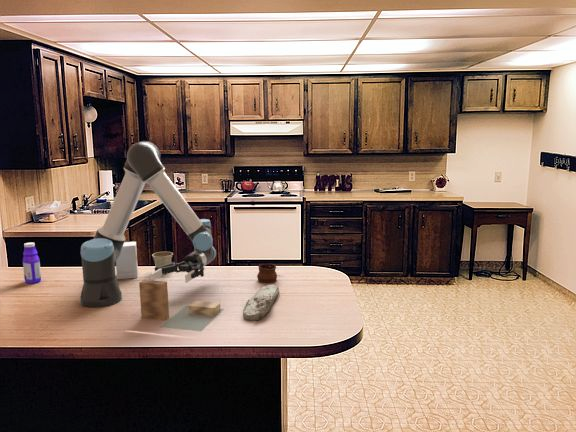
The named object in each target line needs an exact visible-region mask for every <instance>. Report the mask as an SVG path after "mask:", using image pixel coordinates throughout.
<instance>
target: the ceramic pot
mask: <svg viewBox="0 0 576 432" xmlns="http://www.w3.org/2000/svg"><path fill="white" fill-rule="evenodd" d="M257 268H258V273H257V274H256V278H257V281H258V282H260V283H262V284H273V283H276V282H277V278H278V276H279V277H284V275H279V274H277V272H276V269H277V265H276V264H273V263H267V264H265V263H260V264H259V265H258V267H257Z"/></svg>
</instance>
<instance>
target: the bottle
mask: <svg viewBox="0 0 576 432" xmlns="http://www.w3.org/2000/svg"><path fill="white" fill-rule="evenodd" d="M35 245H36V244H35V242H26V243H25V242H24V244H23V246H24V248H23V249H24V250H23V253H22V255H23V258H22V266H23V267H22V269H23V278H24V281H25V283H28V284H37V283H40V282H41V281H42V274H41V273H42V272H41V262H40V257H39V256H38V253H39V252H38V251H37V248H36V246H35Z"/></svg>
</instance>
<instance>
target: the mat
mask: <svg viewBox="0 0 576 432" xmlns="http://www.w3.org/2000/svg"><path fill="white" fill-rule="evenodd" d="M223 311H224V308H221V311H220V312H219V313H218V314H217V315H216V316H209V315H199V314H189V305H185V306H184V307H182V308H181V309H180V310H178V312H176V313H175V314H174V315H173V316H171V317H170V318H168V319H167V320H165V322H164V323H162V324H161V325H160V326H159V327H160V328H166V329H176V330H178V329H179V330H187V331H198V332H202V331H203V330H204V329H205V328H206V327H208V325H209V324H211V322H213V320H215V318H217V317H218V315H220V314H221V313H222V312H223Z"/></svg>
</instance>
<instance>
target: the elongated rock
mask: <svg viewBox="0 0 576 432" xmlns="http://www.w3.org/2000/svg"><path fill="white" fill-rule="evenodd" d="M279 292H280V288H279V286H278V285H277V284H273V283H271V284H267V285H264V286H261V287H260V288H259V290H258V291H256V293H254V295H253V296H252V297H251V298H250V299H248V300H247V301H246V303H245V305H244V307H243V312H242V316H243V318H244V320H245V321H259V320H261V319H262V318H264V317H265V316H266V314H267V313H270V308H271V307H272V306H273V304H274V302H275V301H276V299H277V297H278V294H279Z"/></svg>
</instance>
